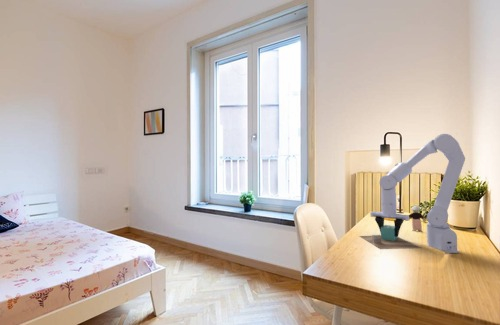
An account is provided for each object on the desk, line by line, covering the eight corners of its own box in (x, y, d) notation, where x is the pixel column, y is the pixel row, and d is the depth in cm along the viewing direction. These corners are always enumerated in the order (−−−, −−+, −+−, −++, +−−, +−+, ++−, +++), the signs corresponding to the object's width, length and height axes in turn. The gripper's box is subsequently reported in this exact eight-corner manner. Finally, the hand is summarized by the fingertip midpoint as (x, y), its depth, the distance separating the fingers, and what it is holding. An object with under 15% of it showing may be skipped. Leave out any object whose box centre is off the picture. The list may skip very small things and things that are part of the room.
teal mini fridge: (397, 238, 113) (397, 226, 113) (393, 241, 108) (393, 228, 108) (385, 236, 116) (385, 224, 116) (381, 239, 112) (380, 227, 112)
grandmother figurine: (422, 230, 128) (421, 204, 128) (426, 232, 124) (426, 206, 124) (405, 230, 129) (405, 204, 129) (409, 232, 125) (409, 206, 125)
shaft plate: (421, 251, 99) (421, 239, 99) (380, 252, 99) (379, 241, 99) (394, 237, 117) (394, 228, 117) (359, 238, 117) (358, 229, 117)
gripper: (367, 203, 114) (368, 234, 114) (405, 206, 104) (406, 240, 104) (373, 201, 119) (374, 231, 119) (409, 204, 109) (410, 236, 109)
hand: (389, 235), depth 112 cm, fingers closed on teal mini fridge, 5 cm apart
